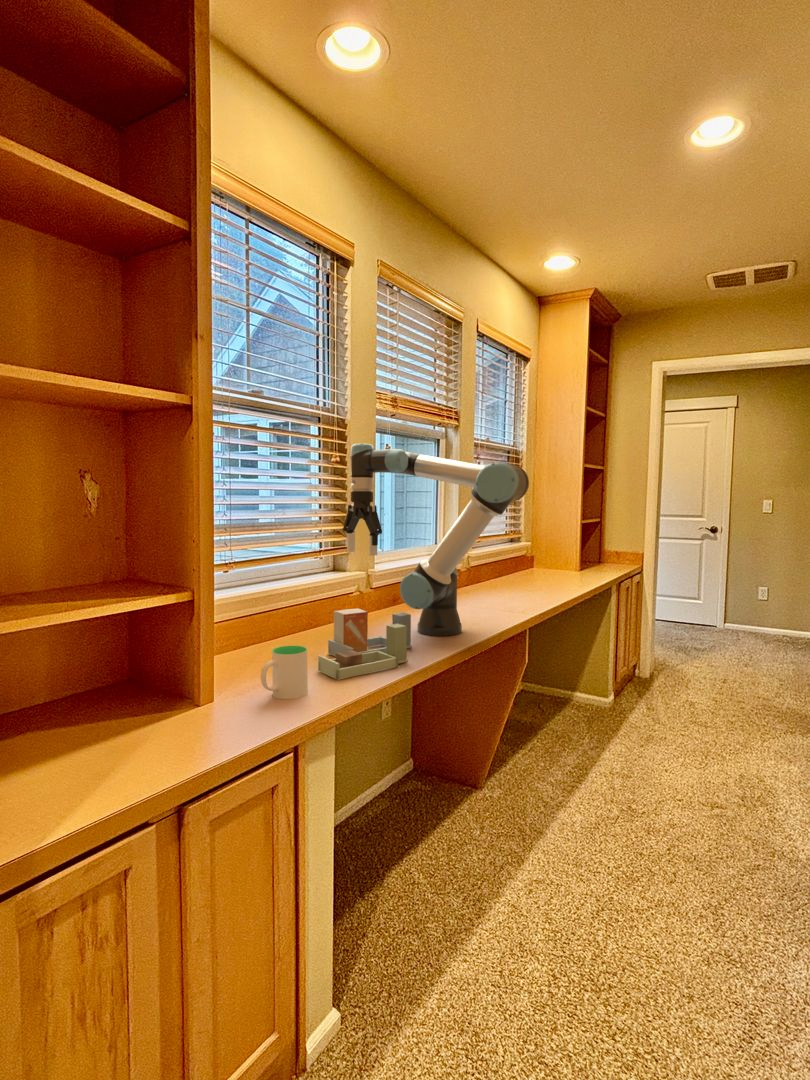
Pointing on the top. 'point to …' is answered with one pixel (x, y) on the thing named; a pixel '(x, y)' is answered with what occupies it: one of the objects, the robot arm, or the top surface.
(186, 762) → the top surface
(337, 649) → the tray
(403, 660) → the tray
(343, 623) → the small box
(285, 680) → the mug
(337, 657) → the walnut block
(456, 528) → the robot arm
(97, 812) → the top surface
